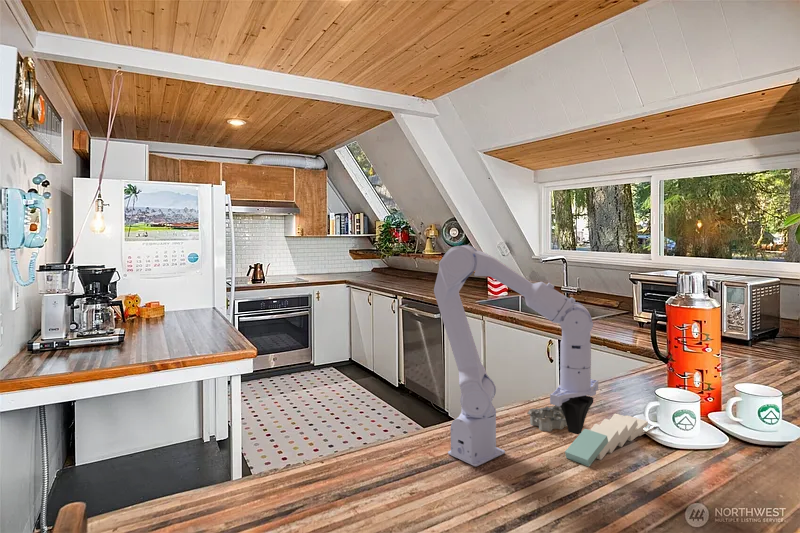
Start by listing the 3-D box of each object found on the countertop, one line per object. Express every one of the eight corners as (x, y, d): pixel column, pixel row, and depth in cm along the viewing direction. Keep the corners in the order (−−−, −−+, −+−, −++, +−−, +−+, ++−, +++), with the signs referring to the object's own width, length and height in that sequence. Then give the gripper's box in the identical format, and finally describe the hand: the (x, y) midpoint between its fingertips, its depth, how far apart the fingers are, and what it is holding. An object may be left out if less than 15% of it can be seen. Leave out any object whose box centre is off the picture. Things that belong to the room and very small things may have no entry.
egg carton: (543, 434, 113) (542, 417, 112) (525, 422, 120) (524, 406, 120) (581, 427, 116) (581, 410, 116) (561, 416, 123) (561, 400, 123)
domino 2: (599, 453, 98) (617, 430, 103) (577, 445, 102) (595, 423, 107) (601, 460, 99) (619, 436, 103) (578, 451, 103) (596, 429, 107)
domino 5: (630, 434, 107) (647, 421, 112) (608, 427, 111) (626, 415, 116) (630, 441, 107) (648, 427, 112) (609, 434, 111) (626, 421, 116)
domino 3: (609, 447, 101) (626, 424, 106) (587, 439, 105) (604, 418, 110) (611, 453, 102) (628, 430, 106) (588, 445, 106) (606, 424, 110)
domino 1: (587, 460, 96) (606, 435, 100) (564, 451, 100) (584, 428, 104) (588, 466, 96) (608, 442, 101) (566, 457, 100) (585, 434, 104)
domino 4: (620, 441, 104) (636, 419, 109) (598, 434, 108) (614, 413, 113) (621, 447, 105) (637, 425, 109) (599, 440, 108) (616, 419, 113)
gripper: (574, 376, 88) (573, 449, 89) (613, 362, 98) (612, 428, 98) (540, 369, 94) (540, 437, 95) (580, 356, 103) (580, 418, 104)
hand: (574, 432), depth 97 cm, fingers closed
